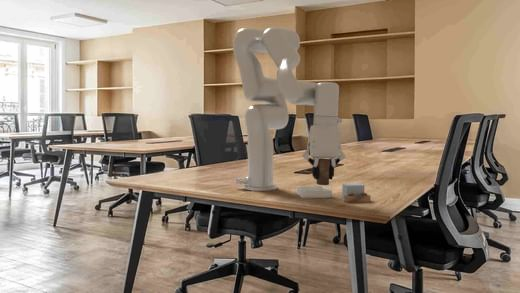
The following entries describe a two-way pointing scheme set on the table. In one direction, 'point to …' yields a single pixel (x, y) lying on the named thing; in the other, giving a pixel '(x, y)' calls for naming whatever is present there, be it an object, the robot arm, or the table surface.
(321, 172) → the dowel
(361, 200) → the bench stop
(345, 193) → the pale blue block
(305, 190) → the tray
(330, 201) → the table surface
